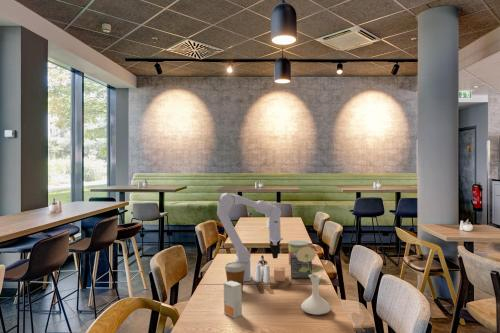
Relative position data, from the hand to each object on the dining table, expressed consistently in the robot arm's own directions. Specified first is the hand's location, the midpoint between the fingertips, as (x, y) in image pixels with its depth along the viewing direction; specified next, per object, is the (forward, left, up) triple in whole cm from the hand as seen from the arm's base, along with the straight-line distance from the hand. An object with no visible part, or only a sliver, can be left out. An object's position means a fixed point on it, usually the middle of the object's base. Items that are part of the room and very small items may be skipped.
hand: (275, 256), depth 182 cm
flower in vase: (+15, -42, -11) cm, 46 cm away
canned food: (+13, +24, -11) cm, 29 cm away
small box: (+13, 0, -11) cm, 17 cm away
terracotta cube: (+2, -12, -8) cm, 15 cm away
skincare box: (-16, -46, -11) cm, 50 cm away
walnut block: (+2, -12, -11) cm, 16 cm away
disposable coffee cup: (-18, -21, -11) cm, 30 cm away
